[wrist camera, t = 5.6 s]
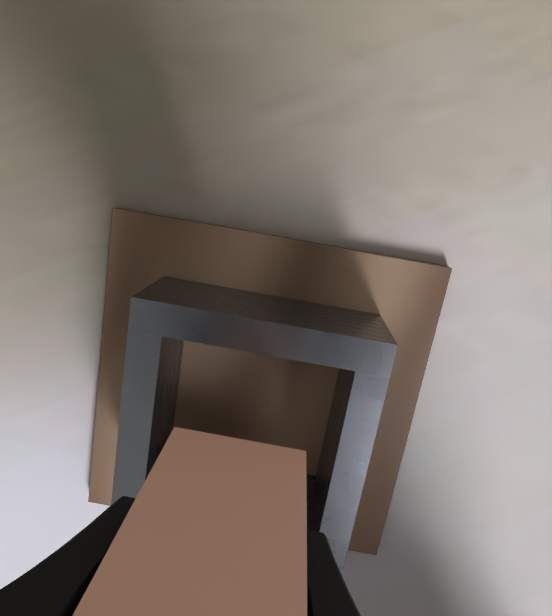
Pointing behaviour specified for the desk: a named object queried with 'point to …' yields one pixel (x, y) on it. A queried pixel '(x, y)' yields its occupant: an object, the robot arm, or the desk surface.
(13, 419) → the desk surface
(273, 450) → the peg
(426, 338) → the socket board
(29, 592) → the robot arm
